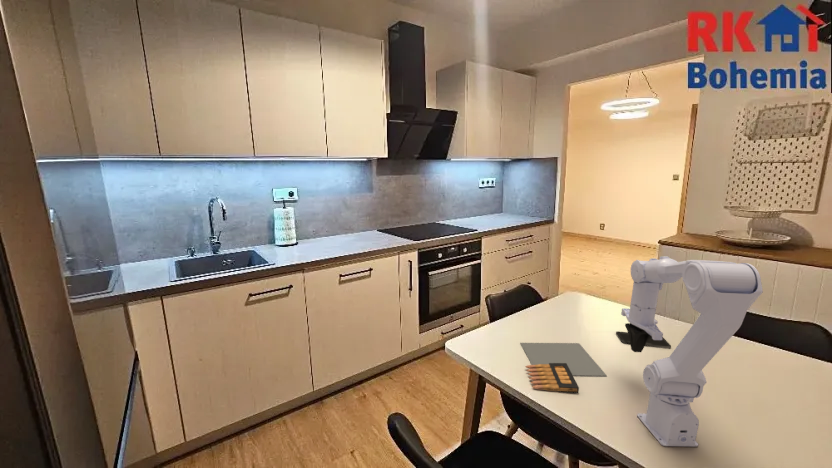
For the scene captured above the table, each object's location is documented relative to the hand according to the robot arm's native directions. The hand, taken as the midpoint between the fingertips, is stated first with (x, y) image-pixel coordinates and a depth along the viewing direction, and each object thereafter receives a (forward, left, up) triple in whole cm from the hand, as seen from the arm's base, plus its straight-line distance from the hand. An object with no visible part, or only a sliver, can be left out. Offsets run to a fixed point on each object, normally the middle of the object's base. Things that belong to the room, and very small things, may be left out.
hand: (636, 350), depth 94 cm
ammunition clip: (+1, +16, -9) cm, 18 cm away
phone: (+24, -18, -11) cm, 32 cm away
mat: (+13, +15, -10) cm, 22 cm away
